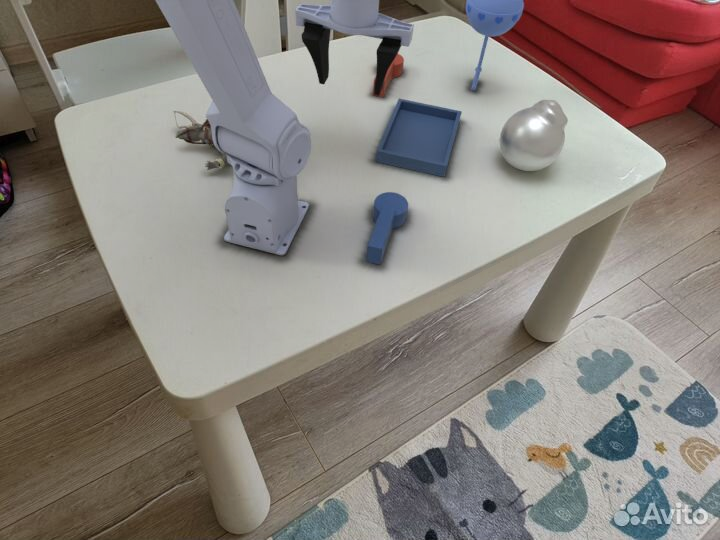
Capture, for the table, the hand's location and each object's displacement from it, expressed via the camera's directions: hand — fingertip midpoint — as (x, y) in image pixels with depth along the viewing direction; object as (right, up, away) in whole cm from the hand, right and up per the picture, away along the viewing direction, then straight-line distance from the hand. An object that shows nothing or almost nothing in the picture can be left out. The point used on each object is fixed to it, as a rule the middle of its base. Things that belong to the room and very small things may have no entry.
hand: (350, 85), depth 70 cm
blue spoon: (+4, -20, -4) cm, 21 cm away
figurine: (-16, -6, +7) cm, 18 cm away
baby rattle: (+21, +6, +20) cm, 29 cm away
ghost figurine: (+26, -9, +7) cm, 28 cm away
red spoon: (+6, +8, +20) cm, 22 cm away
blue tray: (+10, -5, +9) cm, 15 cm away
